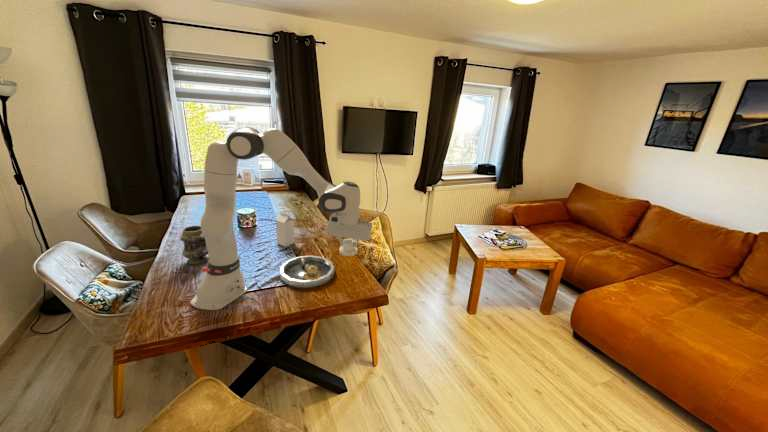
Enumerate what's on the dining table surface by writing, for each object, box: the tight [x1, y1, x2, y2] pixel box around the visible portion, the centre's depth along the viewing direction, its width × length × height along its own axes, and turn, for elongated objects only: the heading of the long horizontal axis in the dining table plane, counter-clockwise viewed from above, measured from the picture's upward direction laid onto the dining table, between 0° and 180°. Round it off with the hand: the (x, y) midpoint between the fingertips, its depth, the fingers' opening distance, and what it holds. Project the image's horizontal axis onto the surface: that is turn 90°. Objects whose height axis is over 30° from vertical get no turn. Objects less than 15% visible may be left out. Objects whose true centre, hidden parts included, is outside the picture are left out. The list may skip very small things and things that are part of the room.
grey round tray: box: [279, 255, 335, 289], centre depth 150 cm, size 26×26×7 cm
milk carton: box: [275, 212, 295, 248], centre depth 178 cm, size 7×7×19 cm
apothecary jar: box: [179, 225, 209, 267], centre depth 152 cm, size 12×12×18 cm
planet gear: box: [338, 238, 358, 257], centre depth 141 cm, size 8×8×6 cm
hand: (348, 245), depth 141 cm, fingers closed on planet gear, 5 cm apart
